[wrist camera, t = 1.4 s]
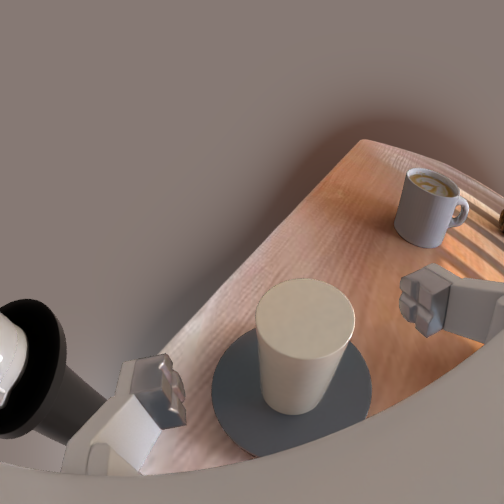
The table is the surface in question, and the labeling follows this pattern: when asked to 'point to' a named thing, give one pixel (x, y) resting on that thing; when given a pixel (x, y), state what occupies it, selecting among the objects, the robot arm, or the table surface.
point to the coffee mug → (428, 207)
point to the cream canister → (301, 342)
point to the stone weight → (501, 221)
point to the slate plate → (275, 423)
